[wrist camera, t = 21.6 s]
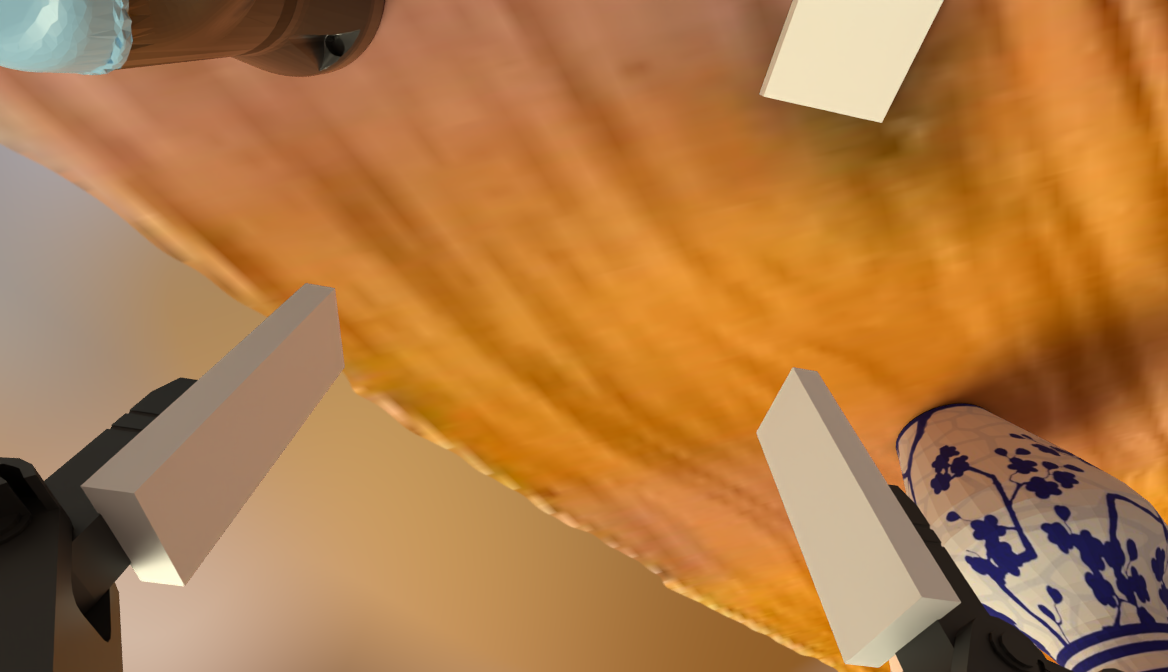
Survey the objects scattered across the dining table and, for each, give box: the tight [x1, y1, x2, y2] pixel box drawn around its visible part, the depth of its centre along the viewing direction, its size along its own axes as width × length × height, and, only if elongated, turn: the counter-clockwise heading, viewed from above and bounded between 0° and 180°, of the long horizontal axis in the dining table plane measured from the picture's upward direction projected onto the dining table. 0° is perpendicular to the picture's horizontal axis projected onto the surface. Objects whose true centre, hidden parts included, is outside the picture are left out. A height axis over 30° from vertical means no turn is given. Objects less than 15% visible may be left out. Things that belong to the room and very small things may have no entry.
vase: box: [896, 404, 1168, 672], centre depth 46 cm, size 19×19×30 cm
